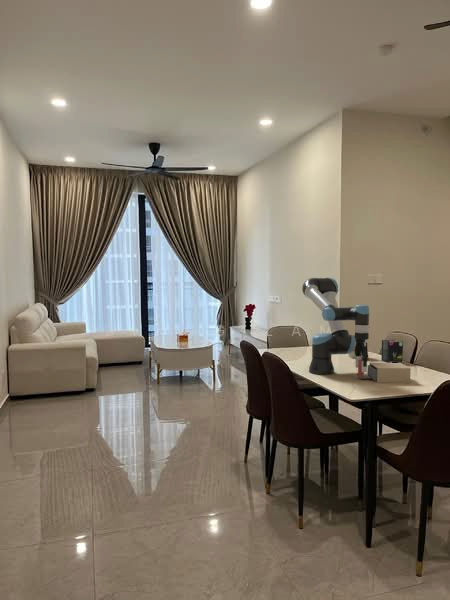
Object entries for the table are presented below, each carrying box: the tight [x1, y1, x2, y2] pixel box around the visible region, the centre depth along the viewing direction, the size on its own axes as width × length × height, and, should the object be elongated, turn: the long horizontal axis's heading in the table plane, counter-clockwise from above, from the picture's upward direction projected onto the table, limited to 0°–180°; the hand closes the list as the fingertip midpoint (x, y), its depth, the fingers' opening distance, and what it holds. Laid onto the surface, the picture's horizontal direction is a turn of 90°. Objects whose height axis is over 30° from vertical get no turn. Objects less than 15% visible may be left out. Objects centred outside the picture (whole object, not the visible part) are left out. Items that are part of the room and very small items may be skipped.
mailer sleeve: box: [369, 362, 412, 383], centre depth 252 cm, size 18×15×8 cm
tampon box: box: [380, 339, 404, 363], centre depth 304 cm, size 11×9×15 cm
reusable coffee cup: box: [347, 335, 362, 359], centre depth 320 cm, size 12×13×15 cm
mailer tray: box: [357, 359, 377, 381], centre depth 252 cm, size 24×12×10 cm, turn 88°
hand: (361, 369), depth 252 cm, fingers open, 12 cm apart
